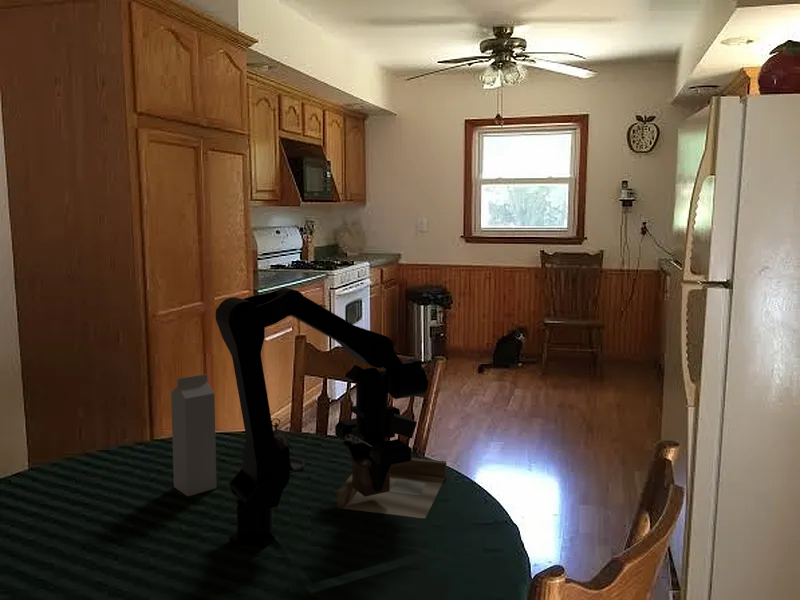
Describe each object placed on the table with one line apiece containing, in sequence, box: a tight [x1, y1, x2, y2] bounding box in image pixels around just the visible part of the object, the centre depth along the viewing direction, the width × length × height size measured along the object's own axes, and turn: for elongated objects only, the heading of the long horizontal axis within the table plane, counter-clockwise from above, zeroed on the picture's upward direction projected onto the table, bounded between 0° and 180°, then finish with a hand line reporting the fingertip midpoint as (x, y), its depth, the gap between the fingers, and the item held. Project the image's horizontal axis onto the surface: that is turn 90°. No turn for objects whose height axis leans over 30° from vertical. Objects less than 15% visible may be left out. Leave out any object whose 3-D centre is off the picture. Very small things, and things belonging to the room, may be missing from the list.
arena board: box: [336, 455, 447, 520], centre depth 128 cm, size 20×16×4 cm
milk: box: [170, 373, 217, 497], centre depth 130 cm, size 6×6×22 cm
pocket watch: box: [271, 417, 305, 473], centre depth 142 cm, size 8×8×10 cm
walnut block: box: [351, 458, 390, 497], centre depth 123 cm, size 5×5×5 cm
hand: (371, 485), depth 123 cm, fingers closed on walnut block, 5 cm apart
